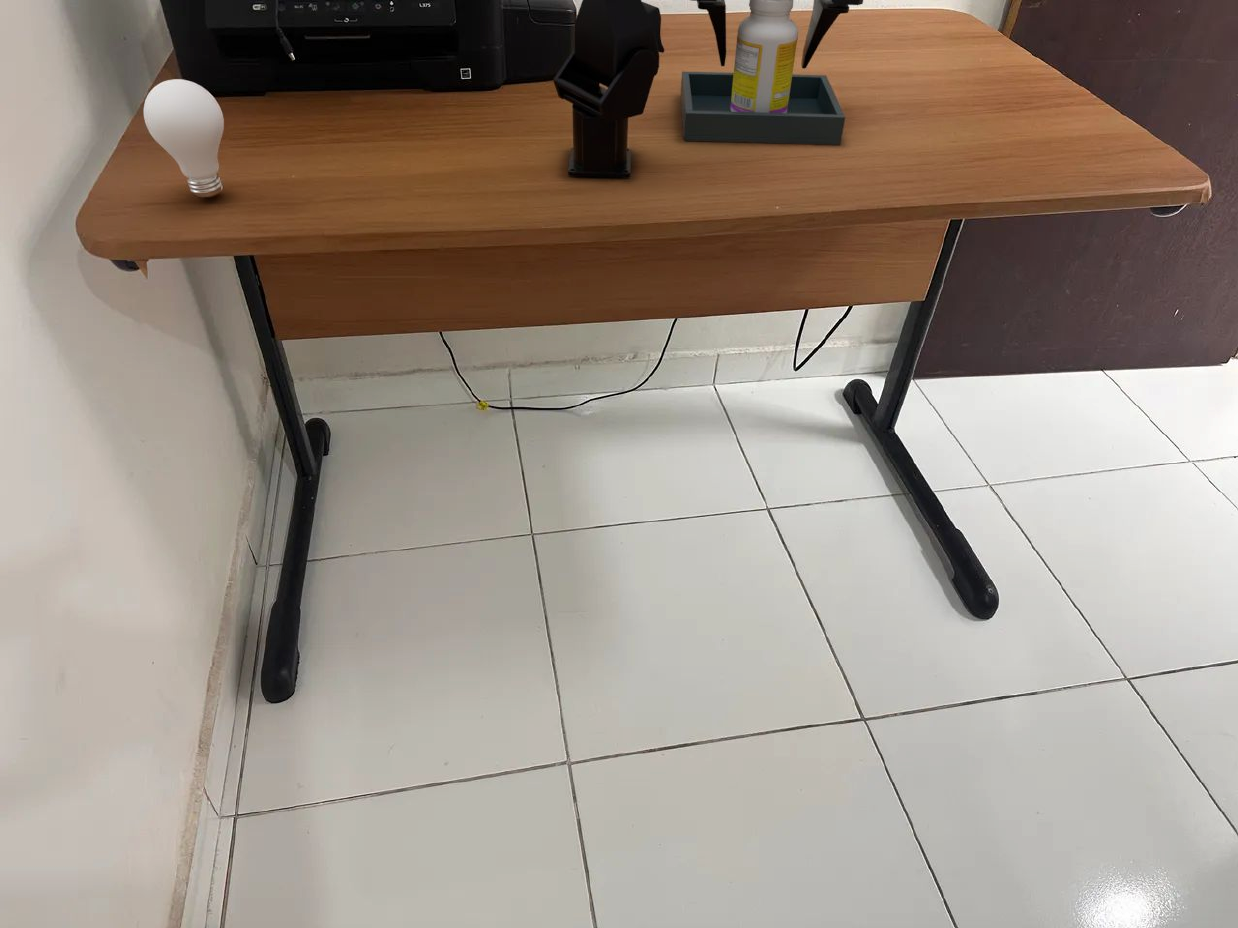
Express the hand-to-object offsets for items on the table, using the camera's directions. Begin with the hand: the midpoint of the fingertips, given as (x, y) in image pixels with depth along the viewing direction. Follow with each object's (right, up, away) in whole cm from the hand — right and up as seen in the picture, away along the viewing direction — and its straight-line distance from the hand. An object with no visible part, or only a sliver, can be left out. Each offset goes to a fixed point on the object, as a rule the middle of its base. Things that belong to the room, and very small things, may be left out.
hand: (762, 66), depth 98 cm
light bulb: (-57, -19, -13) cm, 61 cm away
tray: (0, -5, +4) cm, 6 cm away
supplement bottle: (0, -4, +4) cm, 6 cm away
